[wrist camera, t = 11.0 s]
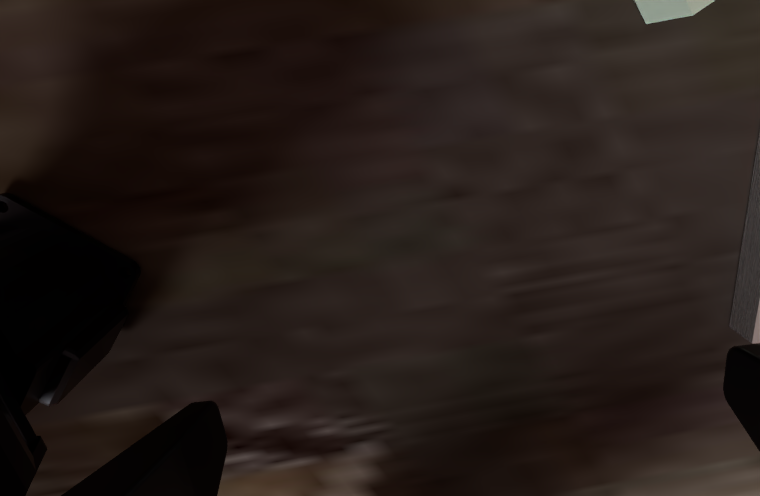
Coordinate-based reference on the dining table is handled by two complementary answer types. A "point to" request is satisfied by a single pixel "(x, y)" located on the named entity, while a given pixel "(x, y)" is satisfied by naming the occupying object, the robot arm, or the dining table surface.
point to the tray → (669, 9)
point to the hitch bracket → (749, 267)
